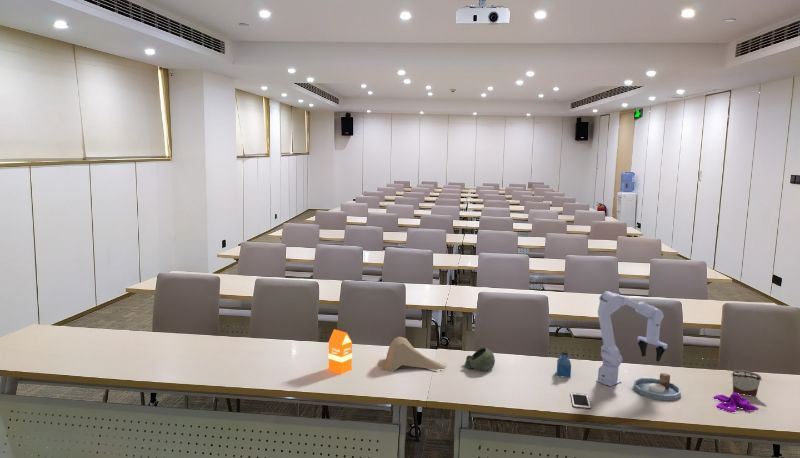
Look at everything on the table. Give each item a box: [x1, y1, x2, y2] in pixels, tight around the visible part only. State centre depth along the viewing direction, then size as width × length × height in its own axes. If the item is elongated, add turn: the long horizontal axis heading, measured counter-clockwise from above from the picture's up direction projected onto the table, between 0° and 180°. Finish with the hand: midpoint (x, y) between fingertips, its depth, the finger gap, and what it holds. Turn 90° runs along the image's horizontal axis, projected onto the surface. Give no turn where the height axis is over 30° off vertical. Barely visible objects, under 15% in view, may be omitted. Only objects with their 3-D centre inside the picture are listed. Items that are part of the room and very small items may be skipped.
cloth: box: [712, 392, 760, 413], centre depth 254 cm, size 22×19×6 cm
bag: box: [378, 336, 447, 372], centre depth 291 cm, size 19×17×35 cm
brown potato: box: [659, 372, 671, 389], centre depth 271 cm, size 4×4×6 cm
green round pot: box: [464, 347, 496, 372], centre depth 292 cm, size 15×15×10 cm
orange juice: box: [328, 328, 353, 375], centre depth 283 cm, size 8×9×20 cm
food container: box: [730, 369, 763, 397], centre depth 268 cm, size 12×6×10 cm, turn 71°
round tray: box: [633, 377, 682, 401], centre depth 268 cm, size 20×20×2 cm
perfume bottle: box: [556, 350, 572, 378], centre depth 284 cm, size 6×6×12 cm
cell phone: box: [570, 392, 592, 410], centre depth 255 cm, size 8×15×1 cm, turn 168°
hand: (650, 358), depth 281 cm, fingers open, 7 cm apart
